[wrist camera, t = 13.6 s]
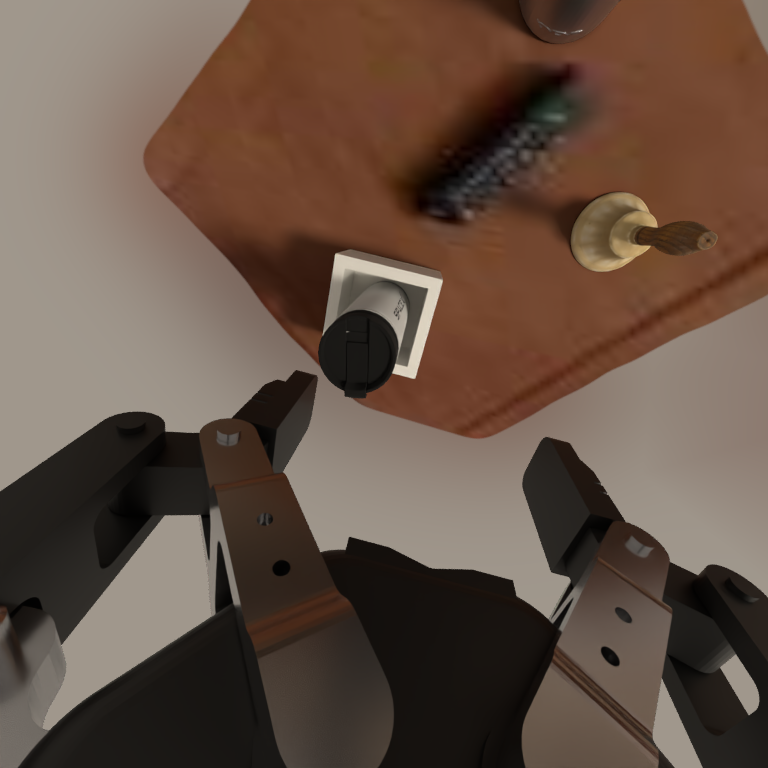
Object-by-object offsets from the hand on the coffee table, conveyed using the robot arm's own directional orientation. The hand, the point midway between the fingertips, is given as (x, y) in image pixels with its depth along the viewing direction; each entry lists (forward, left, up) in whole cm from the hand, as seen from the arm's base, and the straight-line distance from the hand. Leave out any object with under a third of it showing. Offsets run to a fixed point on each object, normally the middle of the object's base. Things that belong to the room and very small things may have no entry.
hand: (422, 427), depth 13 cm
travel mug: (+4, -4, -35) cm, 35 cm away
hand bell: (-10, +19, -36) cm, 42 cm away
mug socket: (+4, -4, -36) cm, 36 cm away
